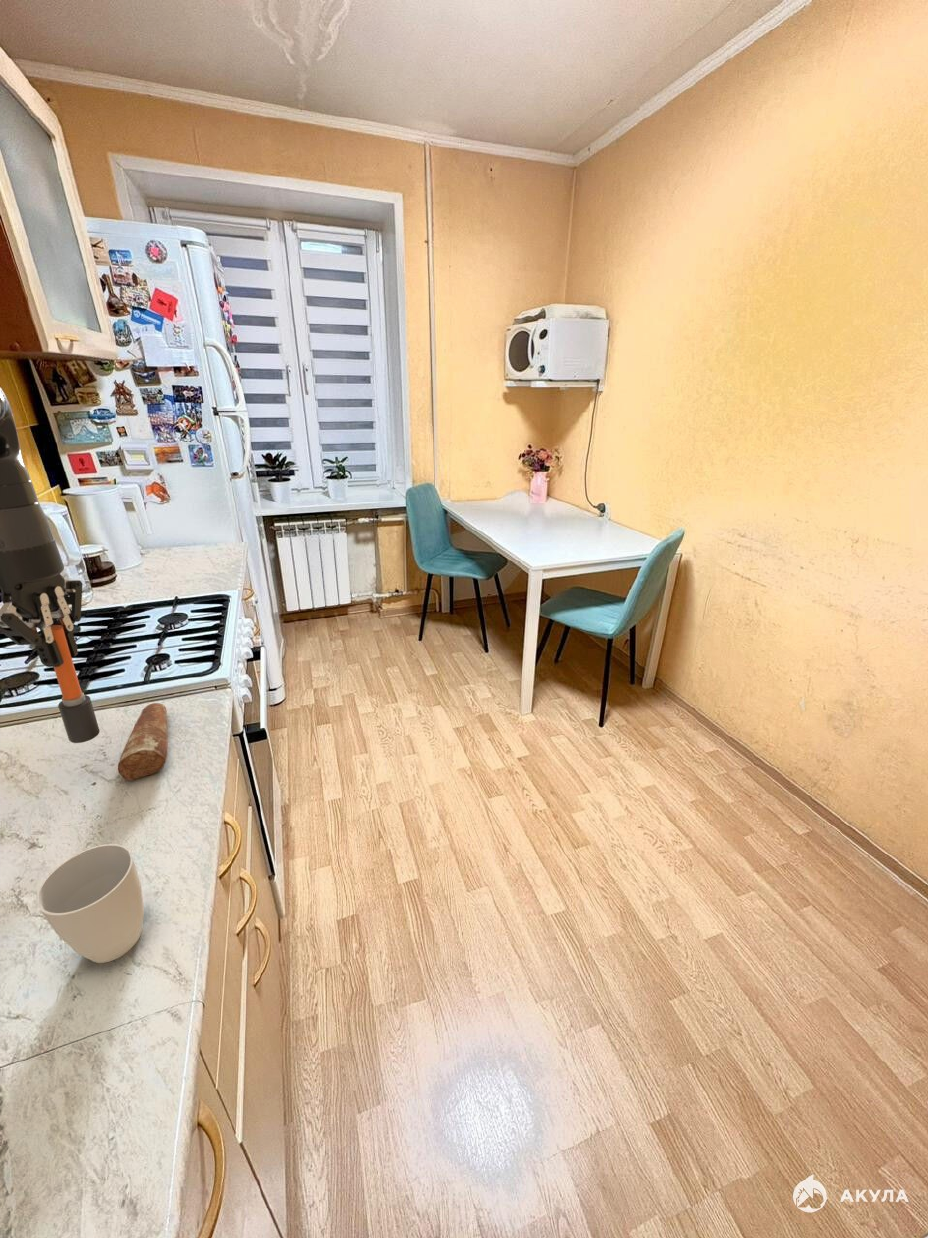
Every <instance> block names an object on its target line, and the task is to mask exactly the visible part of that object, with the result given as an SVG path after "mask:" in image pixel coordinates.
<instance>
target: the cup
mask: <svg viewBox="0 0 928 1238" xmlns="http://www.w3.org/2000/svg"><path fill="white" fill-rule="evenodd" d="M35 903H36V906H37V908H38V909H39V911H40V913H41V915H43V917H44V918H45V919H46V921H47V922H48V924H49V925H50V927H51V928H52V929H53V931H54V932H55V934H56V935H57V936H58V937H59V938H60V939H61V940H62V941H64V943H66V945H68V946H69V947H70V948H71V949H72V950H73V951H74V952H75V953H76V954H78V955H80V956H82V957H84V958H86V959H87V960H90V961H91V962H94V963H97V964H104V963H109V962H113V961H114V960H116V959H119V958H121V957H122V956H124V955H125V954H126V953H128V952H129V951H130V950H131V949H132V948H133V947H134V946H135V945H136V944H137V942H138V941H139V939H140V937H141V935H142V933H143V925H144V923H143V922H144V914H145V908H144V907H145V906H144V897H143V891H142V882H141V880H140V876H139V873H138V870H137V866H136V863H135V860H134V856H133V853H132V851H131V850H130V849H129V848H128V847H126V846H124V845H122V844H119V843H118V844H117V843H107V844H100V845H96V846H92V847H90V848H87V849H85V850H83V851H80V852H78V853H76V854H74V855H73V856H71V857H70V858H68V859H66V860H64V861H63V862H62V863H60V864H59V865H57V867H56V868H54V869H53V870H52V871H51V872H50V873H49V874H48V876H46V878H45V879H44V880H43V881H42V882H41V884H40V886H39V888H38V890H37V893H36V898H35Z"/></svg>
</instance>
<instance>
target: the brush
mask: <svg viewBox="0 0 928 1238" xmlns="http://www.w3.org/2000/svg"><path fill="white" fill-rule="evenodd" d="M51 630H52V634H53V637H54V640H53V641H56V643H57V645H58V648H59V651H60V653H61V656H62V658H63V661H64V663H63V664H62V665H61V666H59V667H53V670H54V673H55V676H56V680H57V683H58V685H59V690H60V692H61V696H62V697H61V701H59V703H58V705H57V706H58V711H59V713H60V716H61V719H62V723H63V726H64V729H65V732H66V735H67V736H66V737H67V738H68V741H69V743H73V744H81V743H86V742H89V741H91V740H93V739H95V738H97V737H98V735H100V732H101V731H100V727H99V723H98V720H97V716H96V713H95V708H94V706H93V702H92V699H91V697H90V696H89V695H87V694H85V692H83V691H82V689H81V685H80V682H79V678H78V675H77V671H76V668H75V664H74V660H73V657H71V654H70V650H69V647H68V643H67V640H66V636H65V633H64V629H63V626H61V625H52V626H51Z"/></svg>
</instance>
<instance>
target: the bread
mask: <svg viewBox="0 0 928 1238" xmlns="http://www.w3.org/2000/svg"><path fill="white" fill-rule="evenodd" d="M167 711H168V710H167V707H166V705H164V704H163V703H160V702H153V703H150V704H148V705H146V706H145V707H144V708H142V710H141V712H140V715H139V716H138V718H137V720H136V722H135V724H134V726H133V728H132V731H131V732H130V735H129V736H128V738H127V742H126V743H125V745H124V748H123V750H122V753H121V755H120V758H119V761H118V763H117V764H118V765H117V772H118V773H119V775H120V776H121V777H122V778H123V779H125V780H127V781H133V780H137V779H139V778H143V777H147V776H151V775H153V774H156V773H157V772H159V771H160V770H161V769H163V767H164V766H165V764H166V762H167V758H168V713H167Z"/></svg>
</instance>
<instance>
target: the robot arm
mask: <svg viewBox="0 0 928 1238" xmlns="http://www.w3.org/2000/svg"><path fill="white" fill-rule="evenodd" d="M18 433H19V432H18V429H17V425H16V420H15V418H14V413H13V411H12V407H11V405H10V402H9V399H8V398H7V395H6V394H5V392H4V390H3V388H2V387H1V386H0V591H1V601H2V606H1V607H0V632H1V633H2V634H3V635H5V637H7V639H10V641H12V642H13V643H14V644H15V645H17V646H33V647H34V648H35V650H36V653H37V655H38V658H39V660H40V663H41V664H42V665H43V666H45V667H47V668H54V667H59V666H61V665H62V664H63V663H64V661H63V658H62V656H61V653H60V651H59V648H58V645H57V643H56V641H53V640H54V637H53V634H52V630H51V626H52V625H61V626H63V629H64V633H65V636H66V640H67V643H68V647H69V650H70V654H71V657H72V658H74V657H76V656H77V655H78V654H79V650H78V643H77V640H76V638H75V635H74V632H73V630H74V625H75V623H77V622H80V621H81V619H82V604H83V602H82V600H83V582H82V581H81V580H79V579H78V580H77V579H76V580H74V579H73V580H72V579H71V580H70V579H69V580H68V579H65V577H64V576H63V574H61V573H63V572H64V569H65V564H64V562H63V559H62V557H61V554H60V550H59V548H58V545H57V542H56V539H55V536H54V534H53V531H52V529H51V525H50V521H49V519H48V517H47V515H46V513H45V512H44V510H43V507H42V506H41V504H40V501H39V498H38V496H37V493H36V489H35V487H34V484H33V482H32V480H31V479H32V478H31V476H30V474H29V471H28V469H27V466H26V464H25V461H24V459H23V454H22V448H21V442H20V439H19V434H18ZM69 606H71V608H70V607H69ZM70 609H71V610H70ZM38 629H39V631H40V633H38V632H39V631H38Z"/></svg>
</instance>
